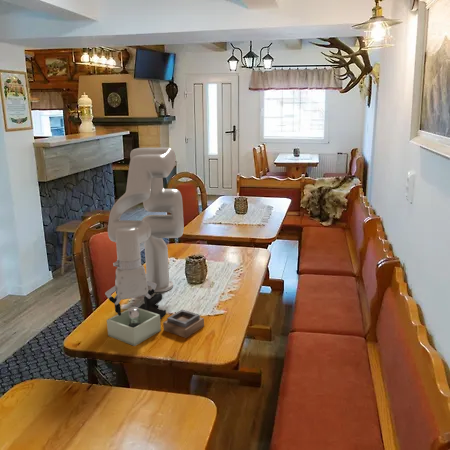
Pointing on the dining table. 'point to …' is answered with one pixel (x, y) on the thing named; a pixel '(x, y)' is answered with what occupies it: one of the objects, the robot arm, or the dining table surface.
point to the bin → (138, 334)
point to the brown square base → (183, 323)
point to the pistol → (153, 306)
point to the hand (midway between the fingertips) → (133, 311)
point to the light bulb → (134, 317)
